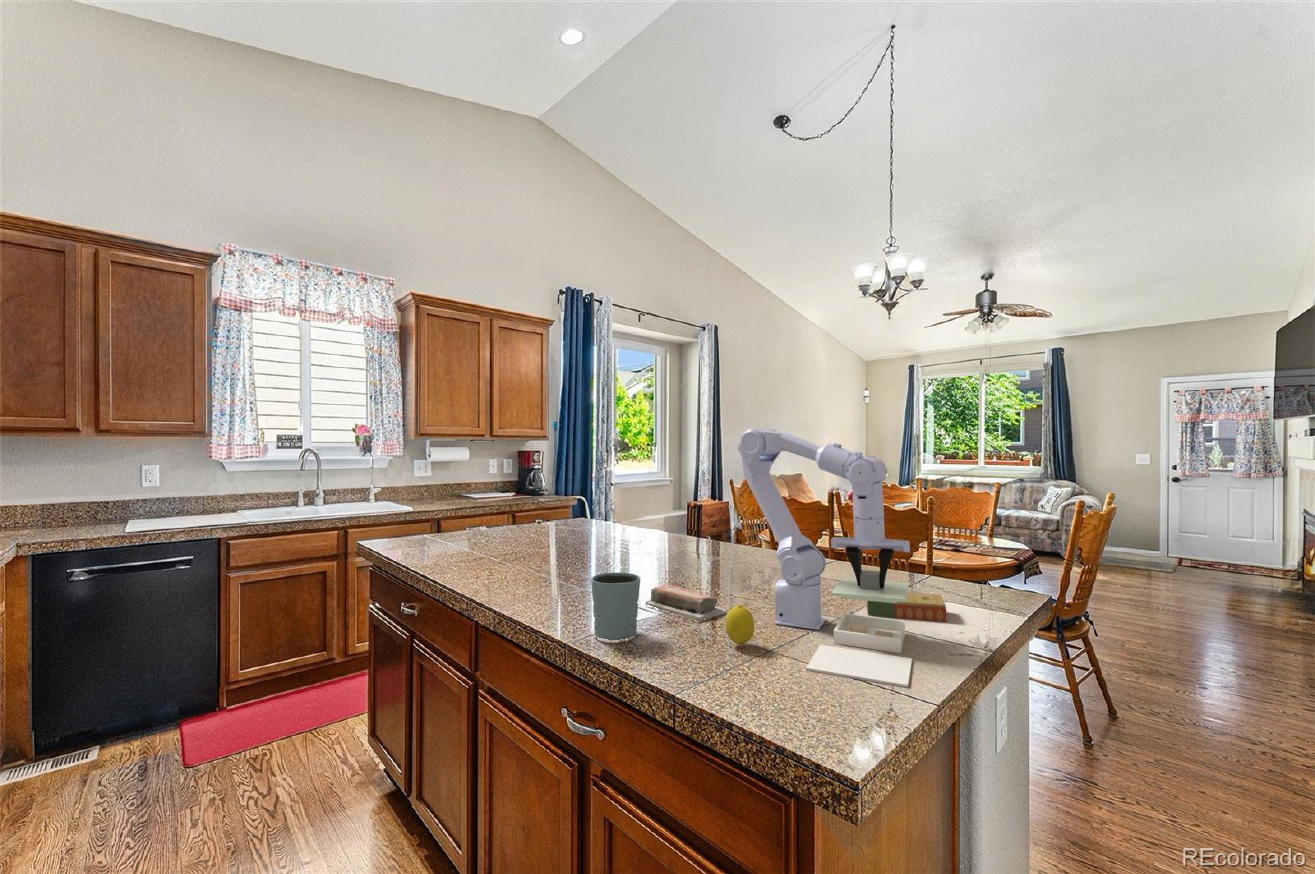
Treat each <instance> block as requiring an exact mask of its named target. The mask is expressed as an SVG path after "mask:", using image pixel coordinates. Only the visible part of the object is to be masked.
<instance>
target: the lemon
mask: <svg viewBox="0 0 1315 874" xmlns="http://www.w3.org/2000/svg"><path fill="white" fill-rule="evenodd" d="M726 614H727V615H726V618H725V631H726V635H727V637H728V638H729V639H730V641H732V642H733V643H735V644H737V646H739V647H742V646H744V644H746V643H748V642H749V641H750V640H751V639H752V638H753V636H754V633H755V622H754V621H755V620H754V617H753V613H752V612H751V611H750V610H749V609H748V608H747V607H745V606H743V605H742V604H737V605H735V606H734V607H732V608H731V609H730V610H729V611H727V613H726Z"/></svg>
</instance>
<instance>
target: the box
mask: <svg viewBox="0 0 1315 874" xmlns="http://www.w3.org/2000/svg"><path fill="white" fill-rule="evenodd" d="M905 637H906V621H905V620H903V619H896V618H888V617H879V616H869V615H861V614H854V613H853V614H852V613H845V612H844V613H843V614H842V616H841V617H840V619H839V620H838V622H837V624H836V626H835V628H834V629H833V644H835V645H843V646H850V647H857V648H865V649H870V650H876V651H884V652H890V653H898V654H902V650H903V645H904V641H905Z"/></svg>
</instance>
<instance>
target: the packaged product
mask: <svg viewBox="0 0 1315 874" xmlns="http://www.w3.org/2000/svg"><path fill="white" fill-rule="evenodd" d="M717 602H718V599H717V598H716V597H714V596H711V595H708V594H704V593H701V592H697V591H694V590H690V589H686V588H683V587H679V586H675V585H671V584H664V585H660V586H657V587H653V588H652V589H651V590H650V600H646V602H645V606H646V605H650V606H653V607H656V608H658V609H660V610H665V611H668V612H670V613H673V614H678V615H681V616H683V617H685V618H688V619H692V620H696V621H701V620H704V619H708V618H711V619H713V618H712V617H714V616H716V617H718V616H717V615H719V616H721V615H720V614H722V615H725V614H727V613H728V609H727V608H722V607H719V606H716V604H717ZM726 612H727V613H726ZM724 613H725V614H724ZM714 618H715V617H714ZM688 619H687V620H688ZM708 620H709V619H708Z"/></svg>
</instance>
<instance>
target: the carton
mask: <svg viewBox="0 0 1315 874" xmlns="http://www.w3.org/2000/svg"><path fill="white" fill-rule="evenodd" d="M866 610H867V616H871V617H879V618H890V619H902V620H903V619H905V620H914V621H916V620H917V621H930V622H939V623H947V620H948V618H947V606H946V603H945V600H944V598H943V597H942V595H940V594H936V593H935V594H930V593H914V592H907V596H906V600H905V603H904V602H897V603H887V602H876V601H866Z"/></svg>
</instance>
